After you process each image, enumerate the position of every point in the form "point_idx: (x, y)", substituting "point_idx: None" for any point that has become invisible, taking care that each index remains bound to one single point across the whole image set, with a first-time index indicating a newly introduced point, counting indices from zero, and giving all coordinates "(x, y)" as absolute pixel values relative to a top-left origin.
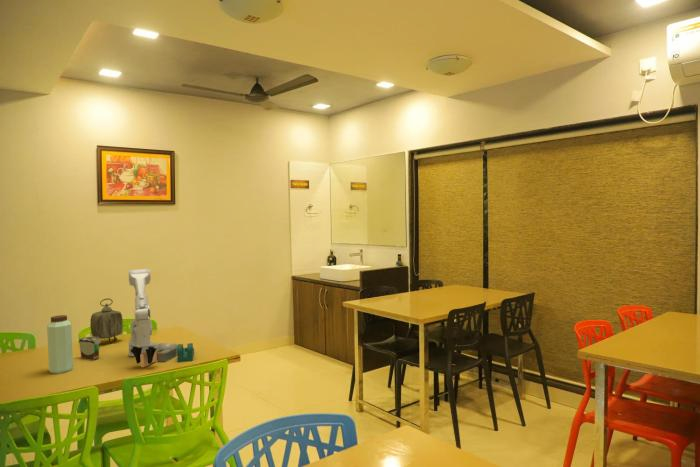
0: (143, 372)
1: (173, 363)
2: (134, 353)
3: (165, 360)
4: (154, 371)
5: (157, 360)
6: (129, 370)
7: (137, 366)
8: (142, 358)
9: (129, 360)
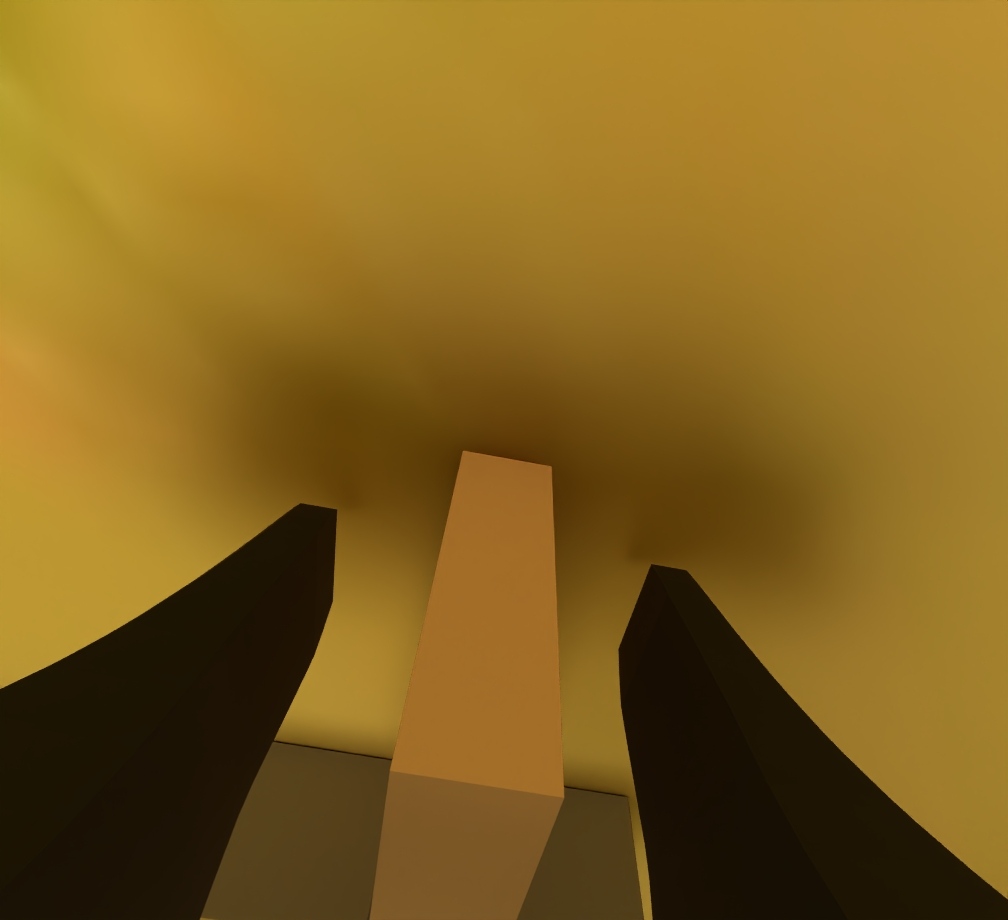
0: (279, 69)
1: (32, 667)
2: (889, 866)
3: None
4: (4, 159)
5: None
6: (801, 300)
7: None
8: (472, 625)
9: None
